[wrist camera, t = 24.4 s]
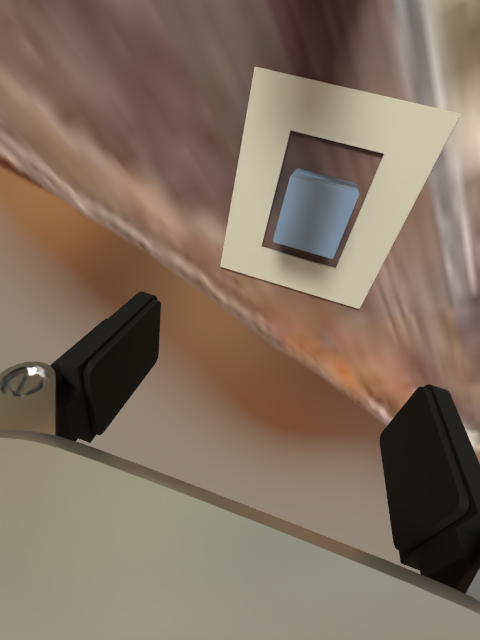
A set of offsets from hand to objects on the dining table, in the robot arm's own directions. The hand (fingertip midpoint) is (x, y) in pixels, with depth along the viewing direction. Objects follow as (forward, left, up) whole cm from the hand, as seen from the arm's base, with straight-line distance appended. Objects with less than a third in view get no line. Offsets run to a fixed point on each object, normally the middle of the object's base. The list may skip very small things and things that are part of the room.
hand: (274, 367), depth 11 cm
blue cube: (0, 0, -26) cm, 26 cm away
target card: (0, 0, -26) cm, 26 cm away
